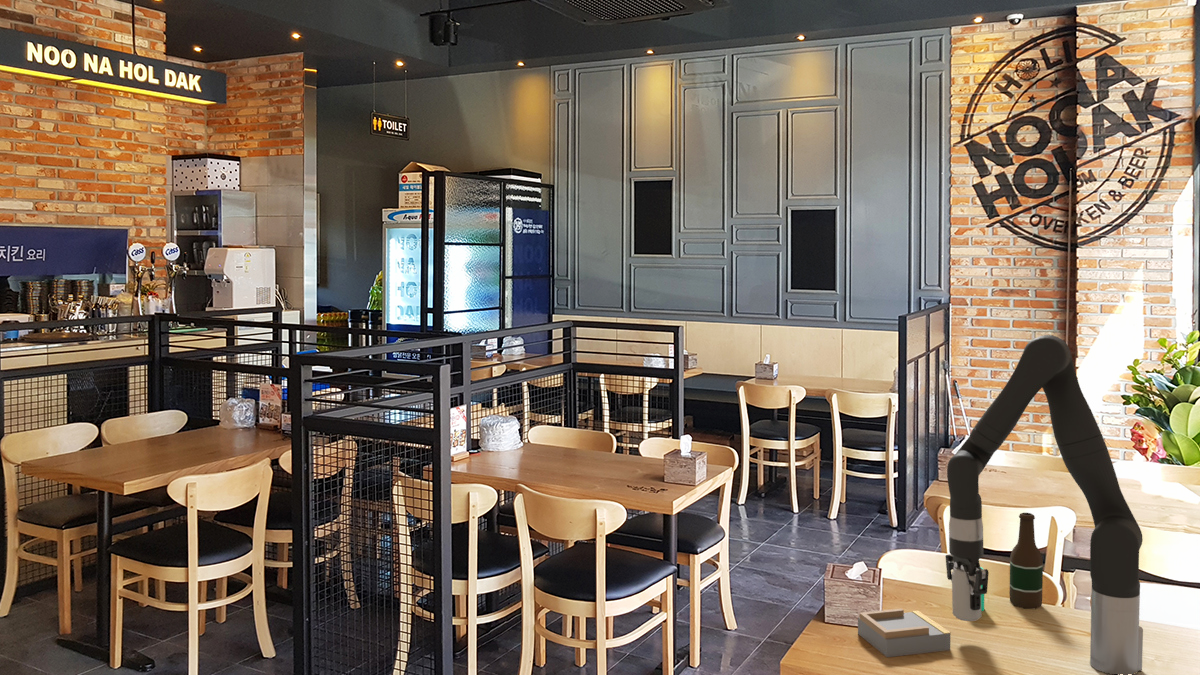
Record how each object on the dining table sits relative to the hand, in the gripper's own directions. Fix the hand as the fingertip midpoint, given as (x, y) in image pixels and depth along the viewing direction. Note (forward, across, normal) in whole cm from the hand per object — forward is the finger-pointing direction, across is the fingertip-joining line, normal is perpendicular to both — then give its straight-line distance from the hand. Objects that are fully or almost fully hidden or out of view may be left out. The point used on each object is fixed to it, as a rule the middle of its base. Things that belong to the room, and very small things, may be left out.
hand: (966, 604), depth 220 cm
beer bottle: (+9, +16, -28) cm, 33 cm away
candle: (+9, +17, -13) cm, 23 cm away
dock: (+8, +2, +15) cm, 18 cm away
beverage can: (+3, 0, 0) cm, 3 cm away
